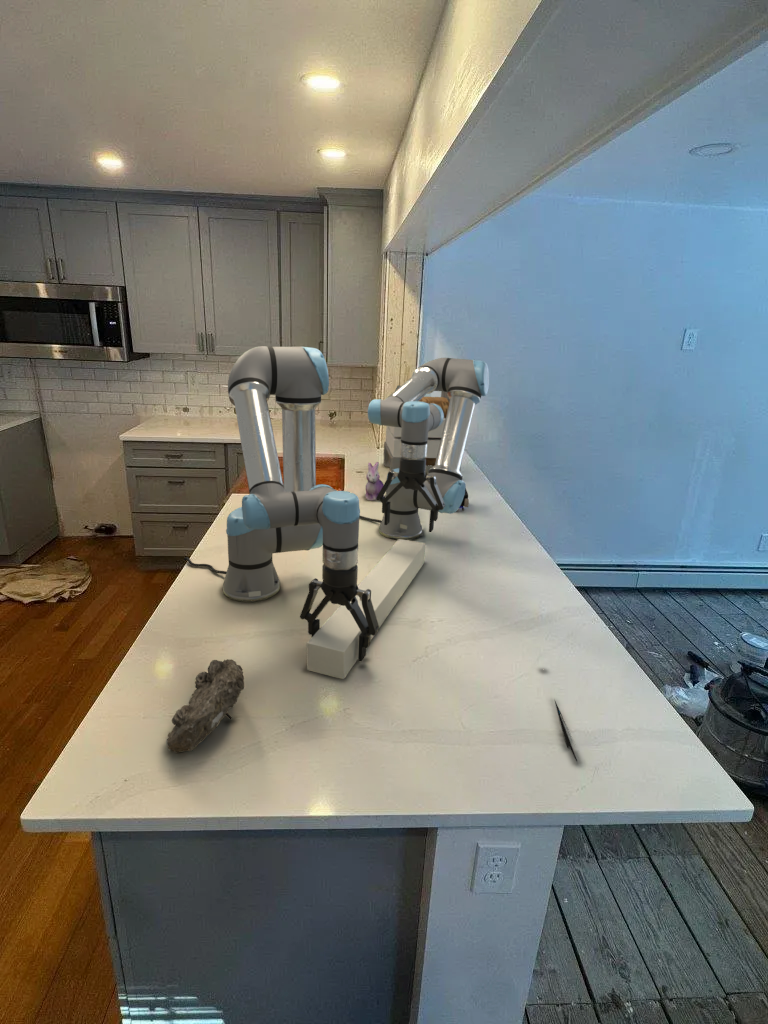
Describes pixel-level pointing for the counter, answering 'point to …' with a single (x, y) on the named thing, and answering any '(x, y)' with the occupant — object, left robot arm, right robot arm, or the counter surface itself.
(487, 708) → the counter surface
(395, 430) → the transformer
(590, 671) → the counter surface
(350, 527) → the left robot arm
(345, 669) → the wide beam
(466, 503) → the figurine character
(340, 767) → the counter surface
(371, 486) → the figurine
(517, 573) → the counter surface
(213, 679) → the fossil
